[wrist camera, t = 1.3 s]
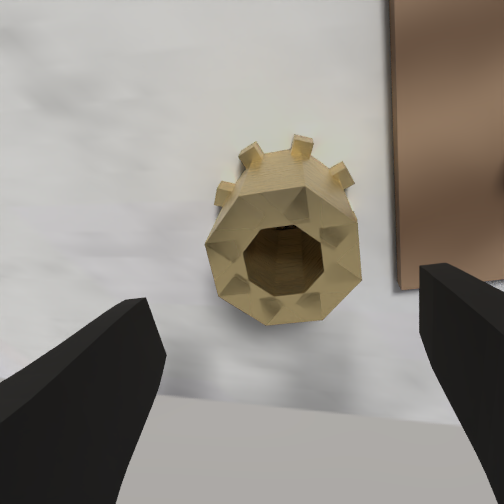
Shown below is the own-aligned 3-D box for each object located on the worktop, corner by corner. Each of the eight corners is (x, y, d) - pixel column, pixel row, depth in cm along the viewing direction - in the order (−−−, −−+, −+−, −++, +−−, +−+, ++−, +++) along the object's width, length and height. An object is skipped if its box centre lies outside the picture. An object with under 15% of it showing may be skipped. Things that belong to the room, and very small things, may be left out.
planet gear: (357, 253, 19) (382, 328, 14) (235, 268, 20) (215, 343, 15) (346, 124, 16) (374, 154, 11) (207, 149, 17) (170, 187, 12)
